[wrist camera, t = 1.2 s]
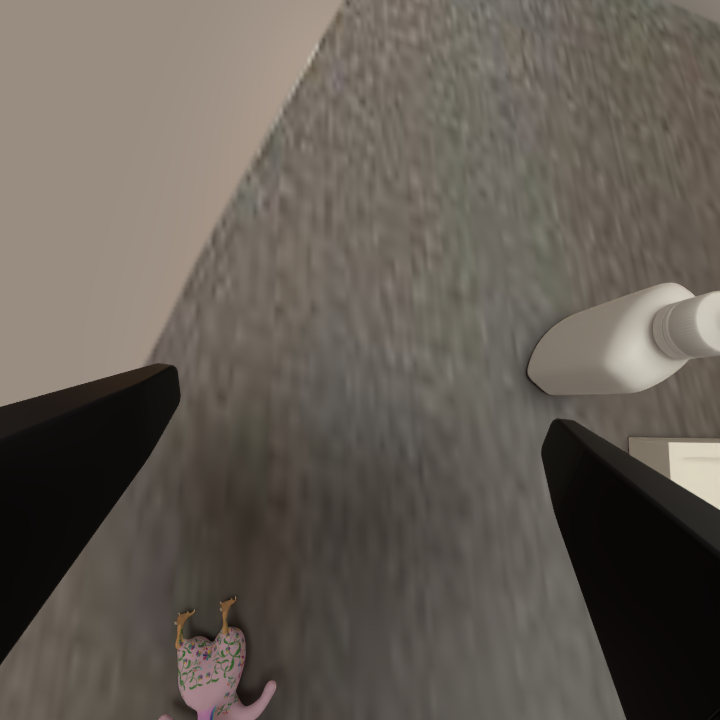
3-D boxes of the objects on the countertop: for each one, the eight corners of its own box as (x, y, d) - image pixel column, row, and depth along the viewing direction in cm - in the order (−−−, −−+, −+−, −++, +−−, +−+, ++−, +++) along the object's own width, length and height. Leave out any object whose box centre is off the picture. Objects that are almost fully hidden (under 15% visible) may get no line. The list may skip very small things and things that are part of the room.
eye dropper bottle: (612, 372, 25) (863, 347, 13) (534, 401, 25) (721, 403, 13) (587, 309, 25) (809, 230, 13) (509, 336, 25) (668, 279, 13)
